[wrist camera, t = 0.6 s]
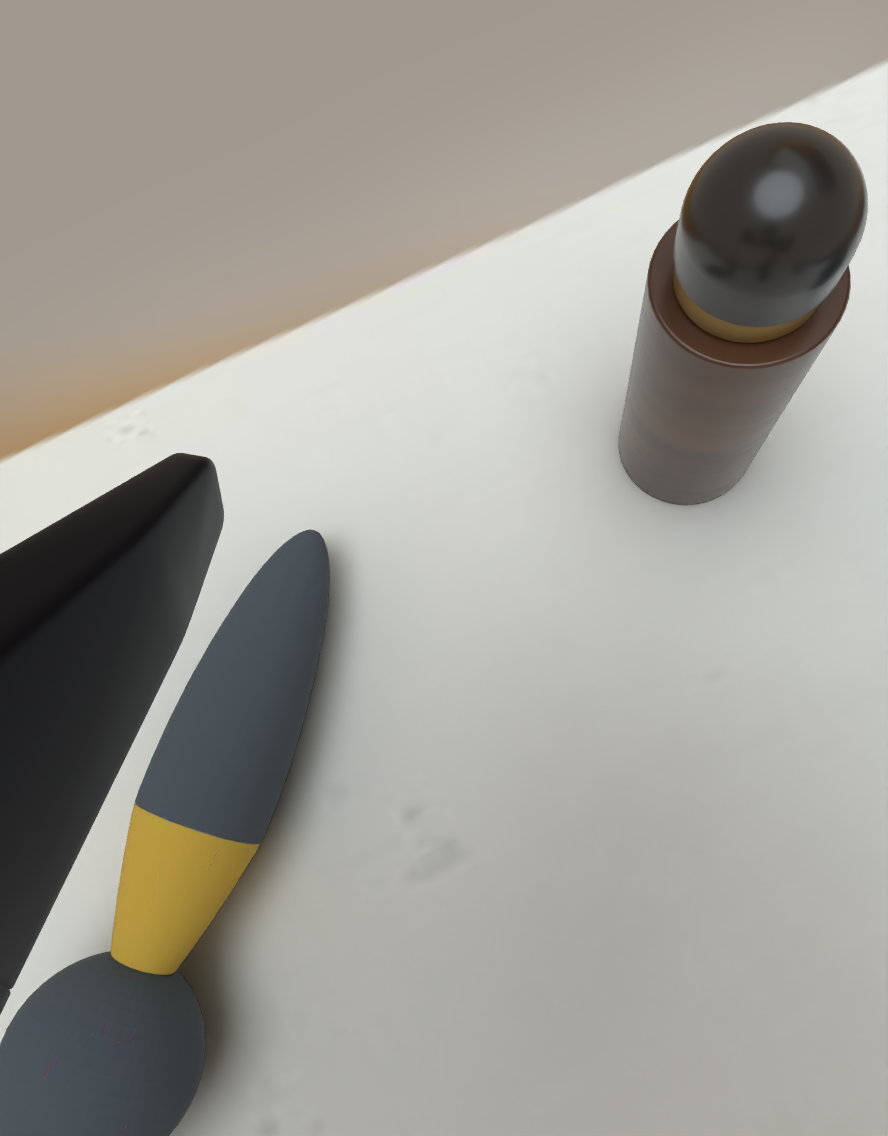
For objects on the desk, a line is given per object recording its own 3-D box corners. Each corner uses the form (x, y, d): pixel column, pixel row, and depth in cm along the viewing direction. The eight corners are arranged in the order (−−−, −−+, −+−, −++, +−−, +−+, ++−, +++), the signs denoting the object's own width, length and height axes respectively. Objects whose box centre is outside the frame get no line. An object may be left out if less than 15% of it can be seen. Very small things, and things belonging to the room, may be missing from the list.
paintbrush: (220, 519, 27) (146, 466, 22) (363, 548, 26) (319, 500, 21) (21, 1179, 23) (-120, 1290, 18) (180, 1240, 22) (76, 1374, 17)
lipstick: (763, 495, 25) (952, 243, 13) (629, 513, 25) (690, 287, 13) (738, 375, 26) (892, 37, 14) (609, 394, 26) (650, 83, 14)
